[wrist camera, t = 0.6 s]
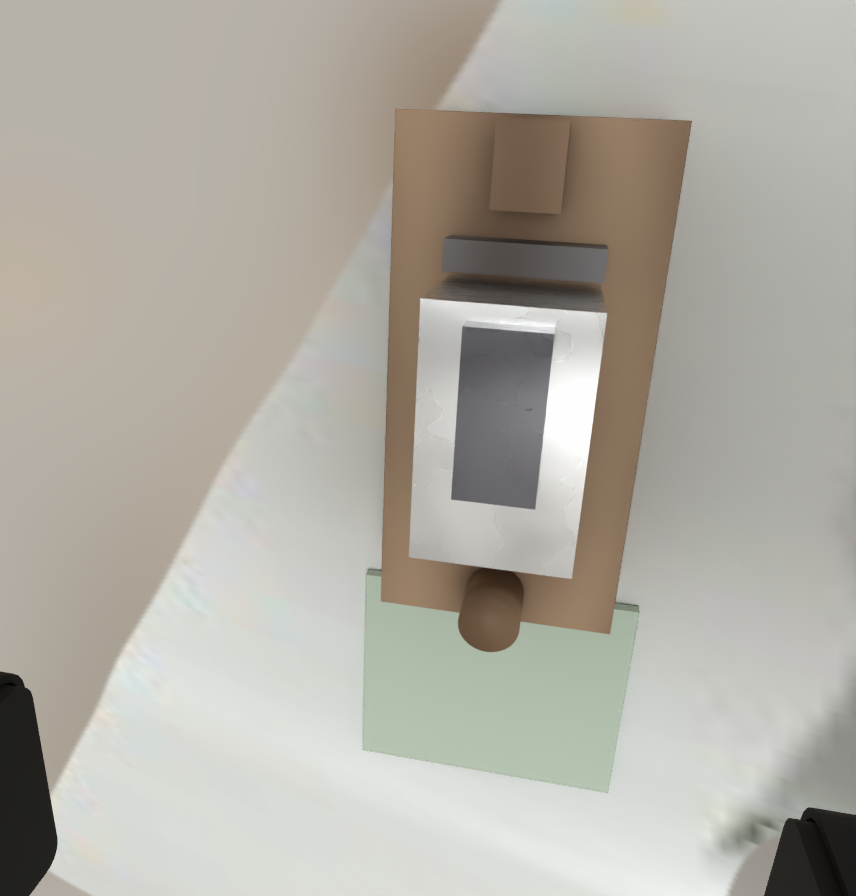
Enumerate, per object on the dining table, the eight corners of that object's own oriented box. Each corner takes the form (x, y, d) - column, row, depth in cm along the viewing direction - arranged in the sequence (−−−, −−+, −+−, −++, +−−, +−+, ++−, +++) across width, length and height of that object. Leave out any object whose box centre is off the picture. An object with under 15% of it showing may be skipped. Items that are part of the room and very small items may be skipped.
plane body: (675, 128, 26) (708, 113, 19) (606, 581, 32) (613, 684, 26) (419, 117, 27) (371, 100, 21) (401, 554, 34) (360, 645, 27)
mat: (638, 606, 32) (639, 612, 32) (607, 785, 36) (608, 793, 35) (369, 569, 34) (366, 574, 34) (365, 743, 38) (362, 750, 37)
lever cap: (601, 286, 24) (608, 318, 19) (572, 509, 27) (571, 592, 22) (448, 275, 25) (414, 303, 20) (436, 493, 28) (403, 570, 23)
